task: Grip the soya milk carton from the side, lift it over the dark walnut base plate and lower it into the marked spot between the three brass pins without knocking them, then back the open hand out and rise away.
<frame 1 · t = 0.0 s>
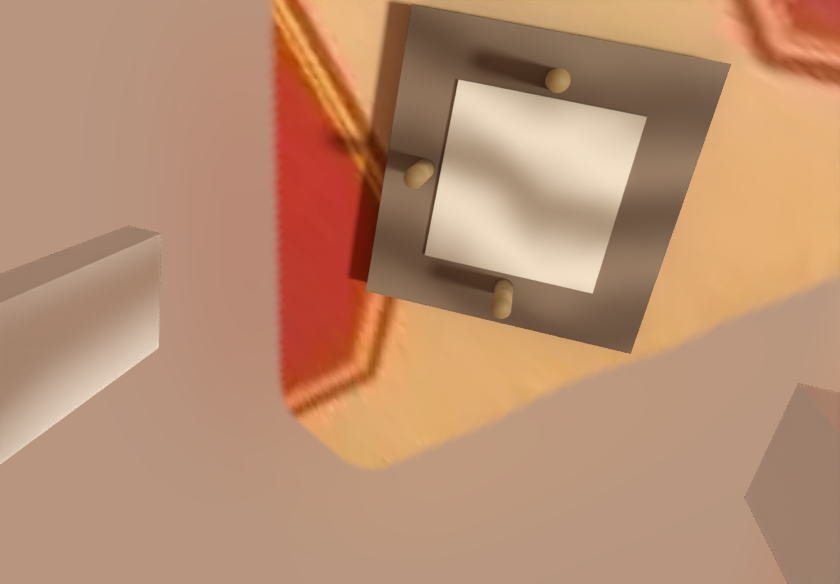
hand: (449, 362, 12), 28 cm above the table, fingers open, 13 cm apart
pin base plate: (528, 185, 39), on the table
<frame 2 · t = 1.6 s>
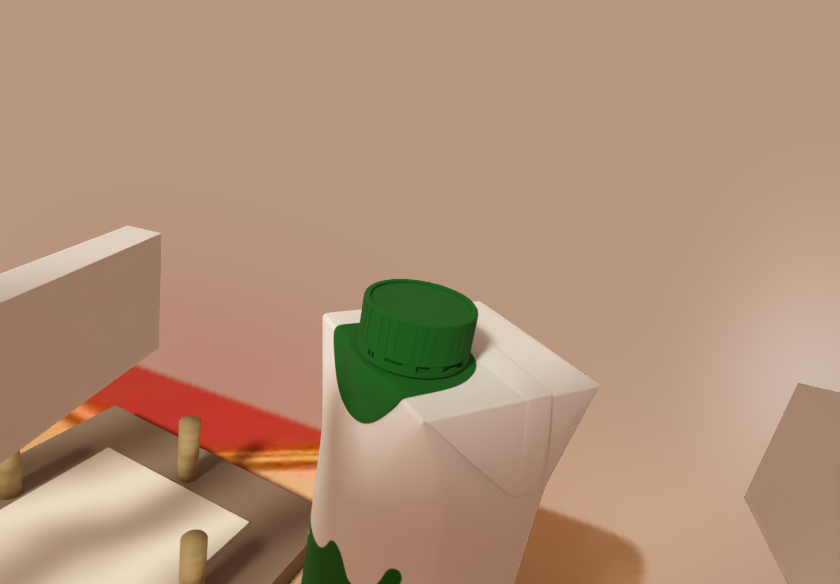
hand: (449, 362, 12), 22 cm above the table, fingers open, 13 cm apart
pin base plate: (95, 565, 32), on the table
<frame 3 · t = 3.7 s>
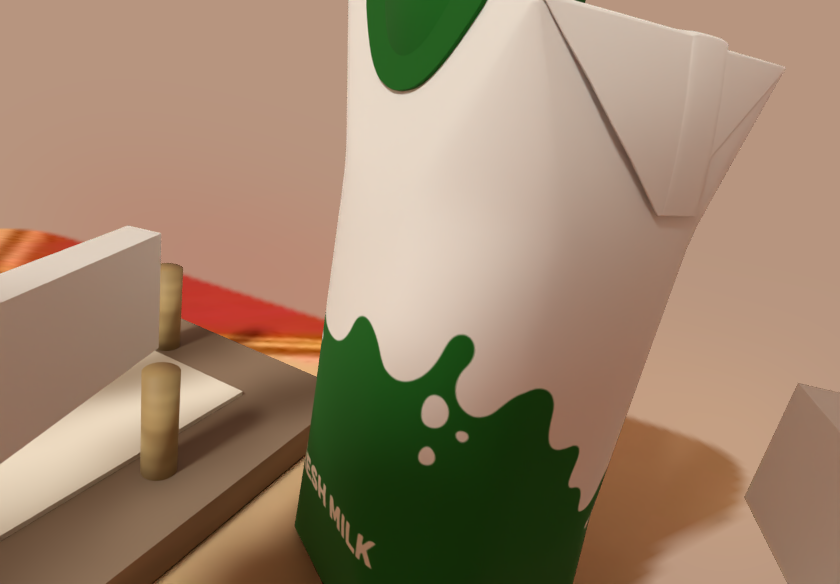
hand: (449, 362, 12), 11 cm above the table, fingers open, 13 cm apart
soya milk: (425, 575, 21), on the table
pin base plate: (37, 433, 24), on the table
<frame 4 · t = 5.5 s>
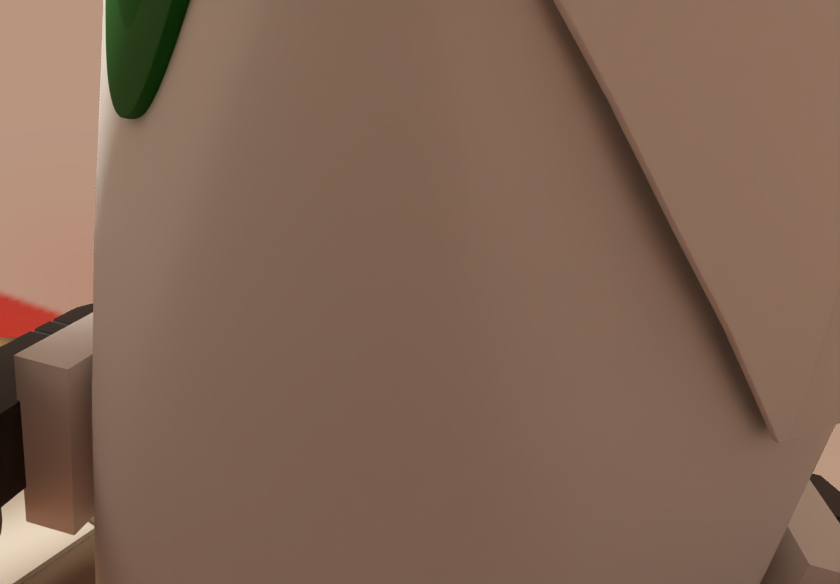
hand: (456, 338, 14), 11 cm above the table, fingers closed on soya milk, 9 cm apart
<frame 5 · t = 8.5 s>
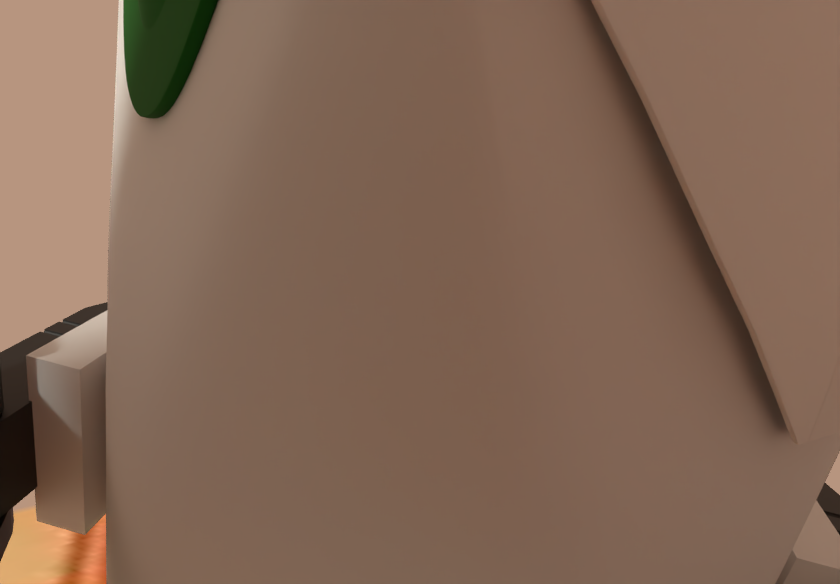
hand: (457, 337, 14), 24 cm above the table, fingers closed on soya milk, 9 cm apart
when the fingers open (14 cm above the table, at t = 11.0 s): soya milk drops 1 cm, resting on pin base plate.
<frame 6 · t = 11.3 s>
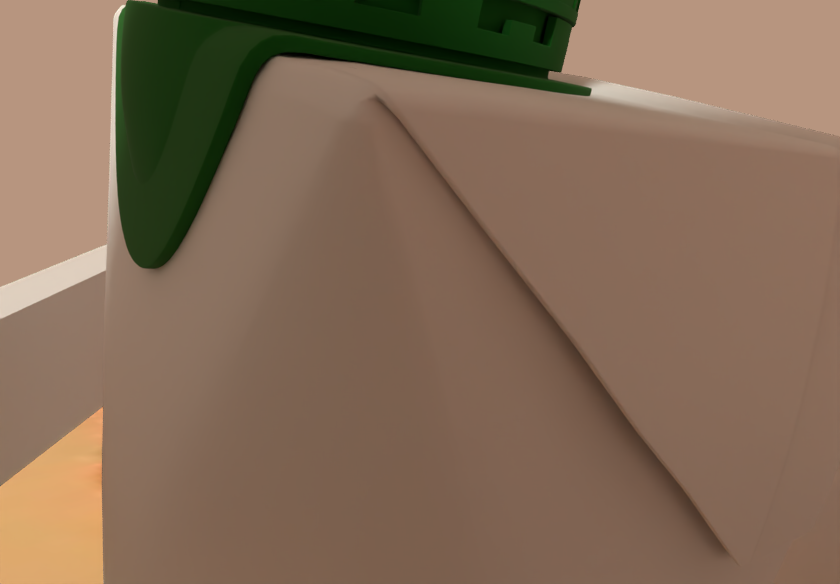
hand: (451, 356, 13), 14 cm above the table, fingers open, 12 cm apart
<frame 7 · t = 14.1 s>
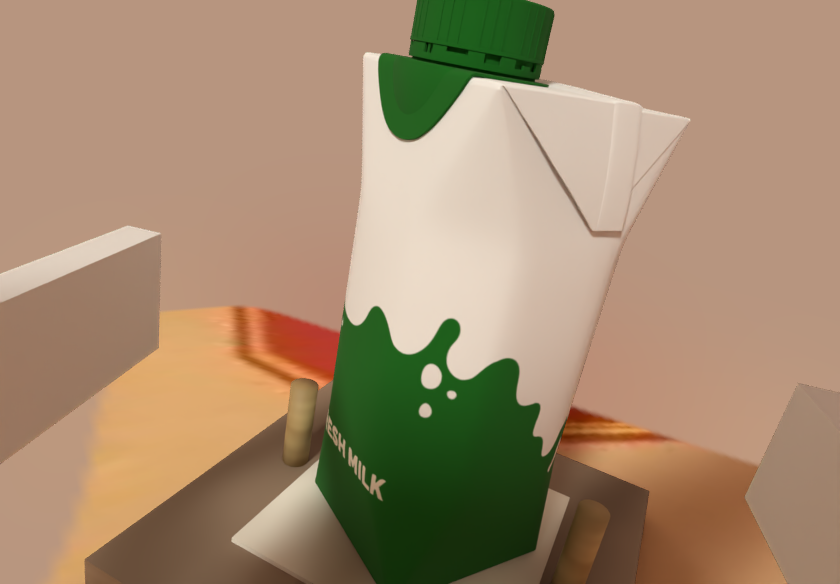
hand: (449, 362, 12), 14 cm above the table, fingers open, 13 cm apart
soya milk: (422, 519, 26), point 2 cm above the table, touching pin base plate
pin base plate: (413, 545, 27), on the table
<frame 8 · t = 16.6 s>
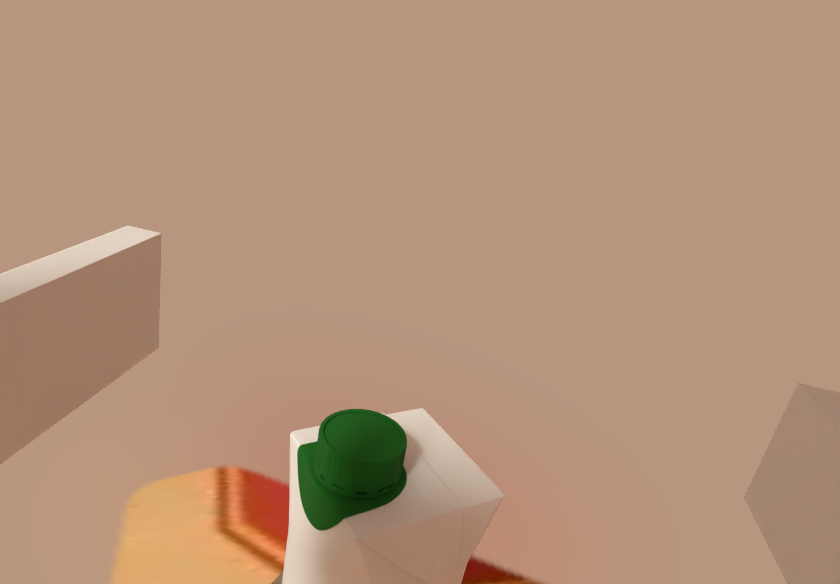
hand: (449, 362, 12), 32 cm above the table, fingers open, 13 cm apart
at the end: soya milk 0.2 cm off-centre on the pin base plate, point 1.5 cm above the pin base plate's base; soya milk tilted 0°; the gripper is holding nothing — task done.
